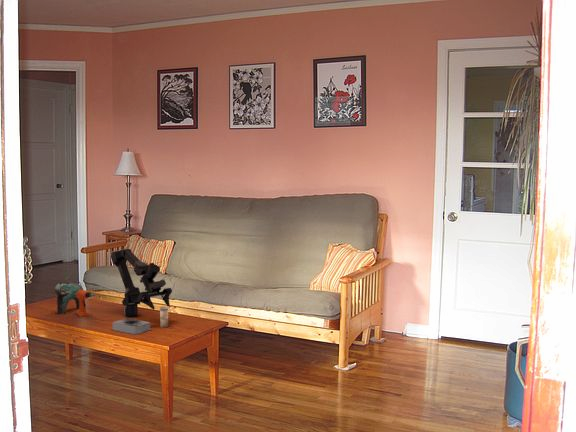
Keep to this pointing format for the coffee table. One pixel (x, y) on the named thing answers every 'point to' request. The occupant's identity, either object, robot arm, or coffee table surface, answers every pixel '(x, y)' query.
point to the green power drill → (66, 295)
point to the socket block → (131, 326)
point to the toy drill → (83, 302)
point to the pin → (163, 316)
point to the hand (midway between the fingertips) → (161, 307)
